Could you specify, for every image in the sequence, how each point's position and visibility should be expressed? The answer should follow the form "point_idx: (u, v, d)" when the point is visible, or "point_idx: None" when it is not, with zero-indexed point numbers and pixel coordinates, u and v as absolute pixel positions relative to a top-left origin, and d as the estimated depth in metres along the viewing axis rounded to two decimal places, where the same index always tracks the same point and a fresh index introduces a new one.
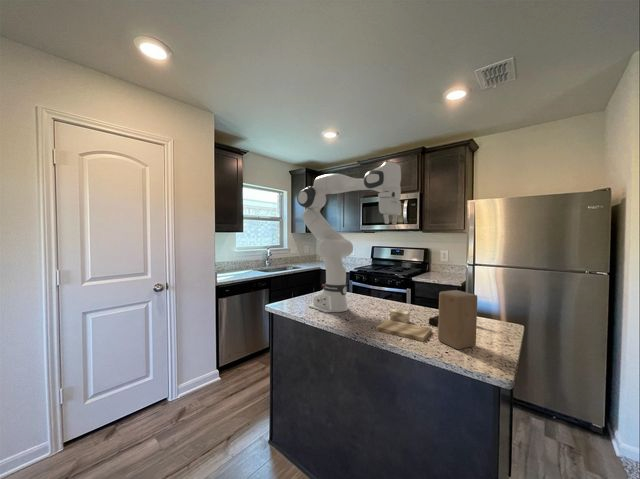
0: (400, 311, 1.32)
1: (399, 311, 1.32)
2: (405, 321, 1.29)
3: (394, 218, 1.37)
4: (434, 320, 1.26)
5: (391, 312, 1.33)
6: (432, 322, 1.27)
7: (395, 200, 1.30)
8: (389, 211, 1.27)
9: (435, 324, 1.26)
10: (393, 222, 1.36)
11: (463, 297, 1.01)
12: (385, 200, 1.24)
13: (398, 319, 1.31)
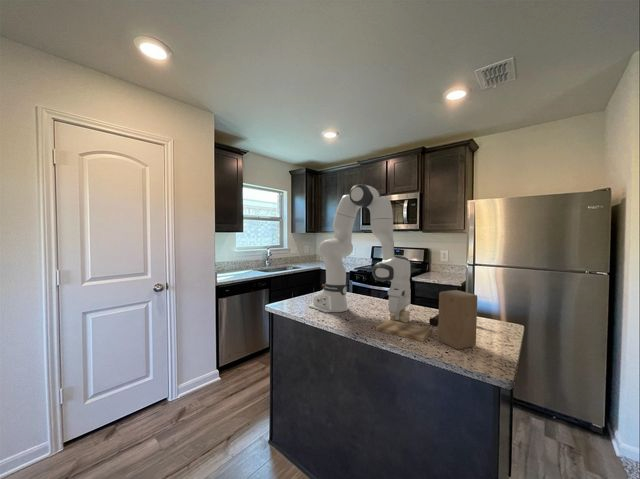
0: (400, 311, 1.32)
1: None
2: (405, 321, 1.29)
3: None
4: (435, 320, 1.26)
5: None
6: (433, 322, 1.27)
7: (404, 296, 1.29)
8: (399, 310, 1.26)
9: (436, 324, 1.26)
10: None
11: (463, 297, 1.01)
12: (395, 300, 1.24)
13: None
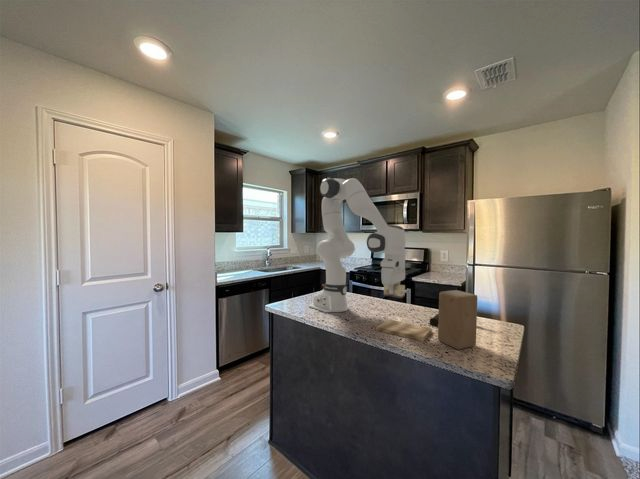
0: (394, 284, 1.22)
1: None
2: (400, 294, 1.18)
3: None
4: (435, 320, 1.26)
5: (385, 286, 1.22)
6: (434, 322, 1.26)
7: (399, 268, 1.19)
8: (393, 282, 1.16)
9: (436, 324, 1.26)
10: None
11: (463, 297, 1.01)
12: (389, 271, 1.13)
13: None
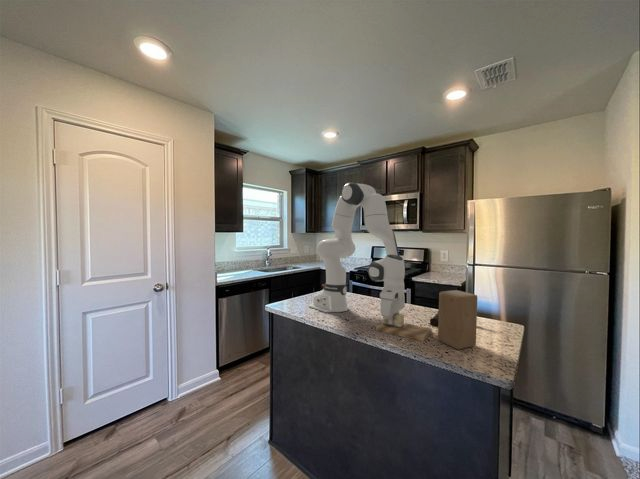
0: (394, 314, 1.22)
1: None
2: (399, 325, 1.18)
3: None
4: (436, 320, 1.26)
5: None
6: (434, 322, 1.26)
7: (398, 299, 1.19)
8: (392, 313, 1.16)
9: (437, 324, 1.26)
10: None
11: (463, 297, 1.01)
12: (388, 303, 1.13)
13: None
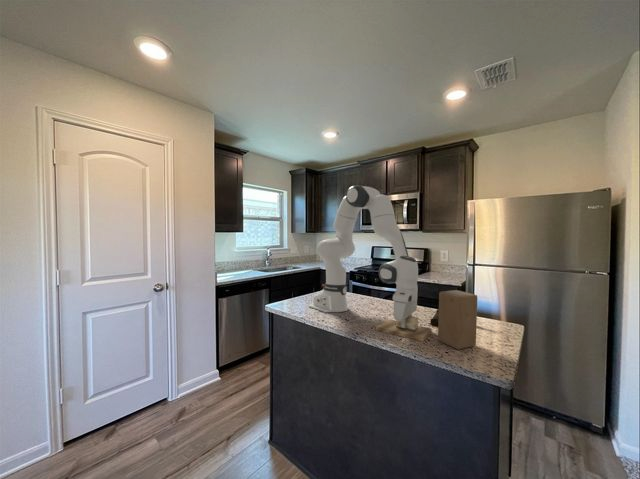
0: (407, 317, 1.18)
1: None
2: (413, 328, 1.15)
3: None
4: (436, 320, 1.26)
5: None
6: (435, 322, 1.26)
7: (411, 301, 1.16)
8: (405, 317, 1.13)
9: (437, 324, 1.26)
10: None
11: (463, 297, 1.01)
12: (401, 306, 1.10)
13: None
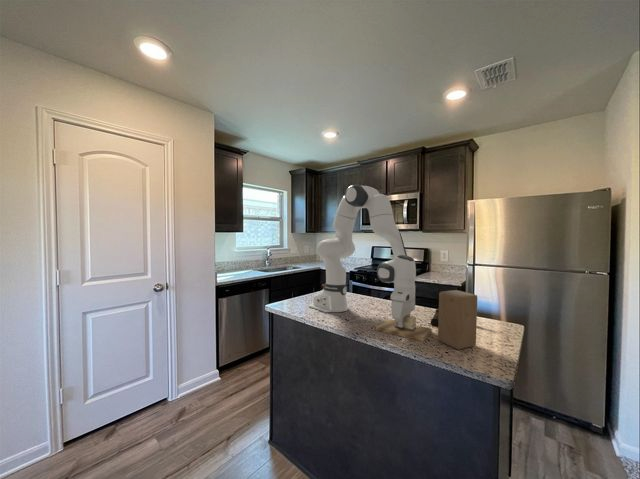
0: (405, 316, 1.19)
1: None
2: (411, 328, 1.15)
3: None
4: (437, 320, 1.26)
5: None
6: (435, 322, 1.26)
7: (409, 301, 1.16)
8: (403, 316, 1.13)
9: None
10: None
11: (463, 297, 1.01)
12: (399, 305, 1.11)
13: None
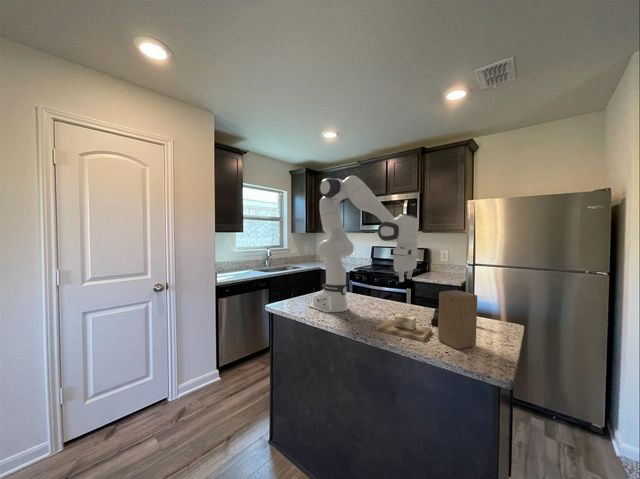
0: (405, 316, 1.19)
1: (404, 316, 1.19)
2: (411, 328, 1.15)
3: (409, 272, 1.28)
4: (437, 321, 1.26)
5: (395, 317, 1.19)
6: (436, 323, 1.26)
7: (411, 256, 1.21)
8: (405, 270, 1.18)
9: None
10: (408, 277, 1.27)
11: (463, 297, 1.01)
12: (401, 259, 1.15)
13: (403, 325, 1.17)
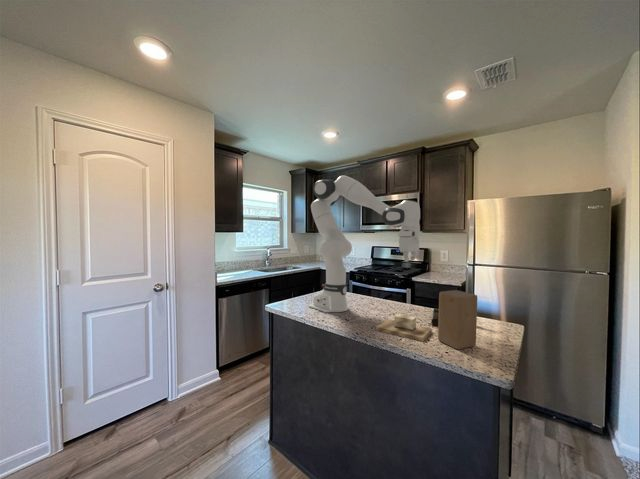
0: (405, 316, 1.19)
1: (404, 316, 1.19)
2: (411, 328, 1.15)
3: (412, 254, 1.40)
4: None
5: (395, 317, 1.19)
6: (436, 323, 1.26)
7: (414, 238, 1.33)
8: (409, 250, 1.30)
9: None
10: (412, 258, 1.39)
11: (463, 297, 1.01)
12: (406, 240, 1.27)
13: (403, 325, 1.17)
